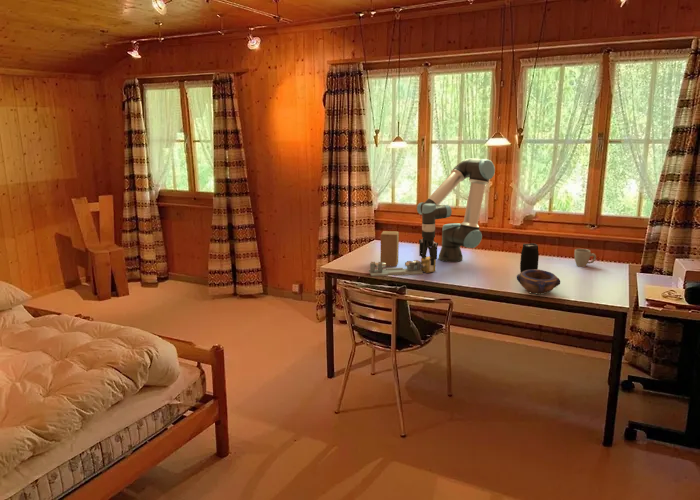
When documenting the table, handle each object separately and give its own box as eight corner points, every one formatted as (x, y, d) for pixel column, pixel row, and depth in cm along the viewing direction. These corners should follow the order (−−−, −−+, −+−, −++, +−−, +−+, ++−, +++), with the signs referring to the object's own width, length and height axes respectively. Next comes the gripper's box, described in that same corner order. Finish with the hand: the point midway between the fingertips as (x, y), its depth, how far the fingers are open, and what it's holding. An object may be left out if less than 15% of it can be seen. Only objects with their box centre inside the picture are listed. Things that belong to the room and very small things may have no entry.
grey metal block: (417, 270, 309) (417, 260, 308) (420, 272, 305) (420, 261, 304) (404, 271, 306) (404, 261, 305) (407, 273, 302) (407, 263, 301)
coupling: (430, 268, 311) (431, 255, 309) (436, 270, 307) (437, 257, 305) (419, 271, 306) (419, 258, 304) (425, 273, 302) (425, 260, 300)
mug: (573, 266, 314) (574, 251, 312) (573, 263, 322) (575, 248, 320) (594, 268, 309) (596, 252, 307) (595, 265, 317) (596, 249, 315)
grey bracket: (385, 272, 305) (385, 262, 304) (385, 274, 301) (385, 264, 300) (371, 271, 307) (371, 261, 305) (370, 273, 302) (370, 263, 301)
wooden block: (396, 266, 317) (396, 234, 313) (380, 266, 319) (380, 234, 315) (398, 262, 327) (398, 231, 322) (382, 261, 329) (382, 230, 324)
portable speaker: (537, 281, 286) (540, 246, 281) (519, 280, 288) (521, 245, 283) (536, 276, 294) (539, 243, 289) (519, 275, 296) (521, 242, 291)
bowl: (537, 299, 255) (538, 280, 253) (511, 289, 271) (512, 271, 269) (564, 294, 263) (565, 275, 260) (537, 285, 279) (538, 267, 276)
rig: (418, 269, 310) (418, 266, 310) (422, 274, 301) (422, 271, 300) (368, 271, 307) (368, 268, 307) (371, 276, 297) (371, 273, 297)
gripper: (413, 229, 305) (412, 267, 311) (434, 234, 291) (434, 274, 297) (422, 227, 309) (421, 265, 315) (444, 232, 295) (443, 271, 301)
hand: (427, 269), depth 306 cm, fingers closed on coupling, 5 cm apart
